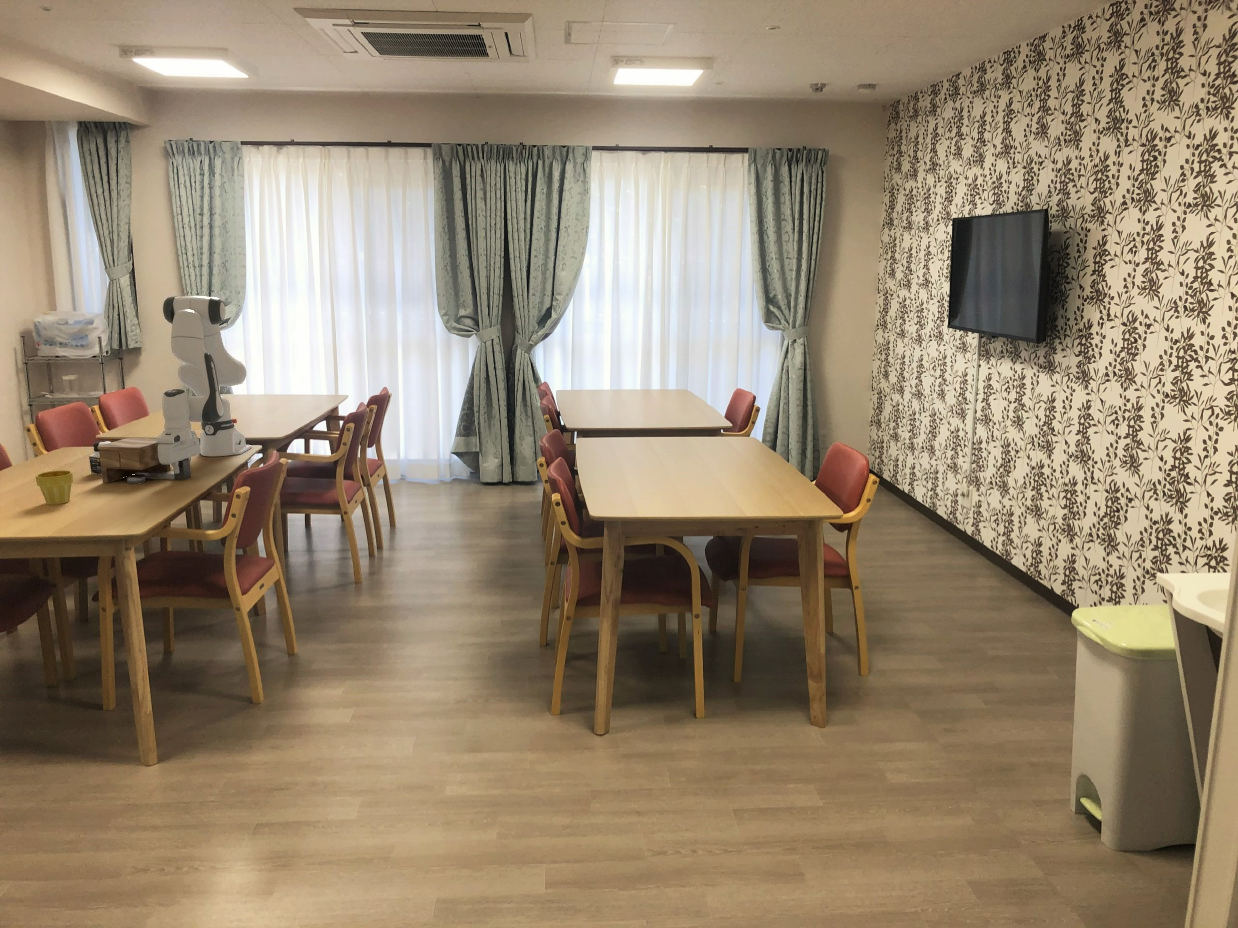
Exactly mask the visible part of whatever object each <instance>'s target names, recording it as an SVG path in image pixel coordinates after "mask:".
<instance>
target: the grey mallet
mask: <svg viewBox="0 0 1238 928" xmlns="http://www.w3.org/2000/svg"><path fill="white" fill-rule="evenodd" d="M178 462H179V464H178V466H179V468H181V473H178V474H176V473H174V471H172V470H171V471H145V470H142V471H139V472H136V473H135V474H144V475H145V479H148V478H150V480H151V479H152V480H153V479H154V480H173V481H174V480H177V481H178V480H180V481H185V480H188V479H191V478H192V475H191V474H192V472H191V462H190V460H189V459H184V460H181V461H178Z"/></svg>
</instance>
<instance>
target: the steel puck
mask: <svg viewBox="0 0 1238 928" xmlns="http://www.w3.org/2000/svg"><path fill="white" fill-rule="evenodd" d="M125 479H126V484H127V483H128V484H127V485H139V483H140V484H144V483H146V482H147V480H146V478H145V475H144V474H135V475H129V476H127V477H125Z"/></svg>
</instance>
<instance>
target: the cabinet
mask: <svg viewBox="0 0 1238 928" xmlns="http://www.w3.org/2000/svg"><path fill="white" fill-rule="evenodd" d="M110 442H111V441H110ZM159 444H160V443H157V441H156V438H149V437H148V438H145V437H144V438H143V437H142V438H141V437H139V438H138V437H126V438H123V439H119V440H116V441H115V440H114V441H112V442H111V443H108V444H104V445H100V446H97V448H98V449H99V455H100V463H101V472H102V475H101V479H102V484H110V483H112V481H113V482H116V481H118V479H119V480H122V479H124V478H123V477H125V478H126V476H129V475H132V474H135V473H136V472H139V471H142V470H145V471H172V469H171V464H169V465H166V464H161V463H160V462H159V457H158V445H159ZM121 478H122V479H121ZM115 480H116V481H115Z"/></svg>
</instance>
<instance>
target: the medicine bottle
mask: <svg viewBox="0 0 1238 928" xmlns="http://www.w3.org/2000/svg"><path fill="white" fill-rule="evenodd" d="M108 443H111V441H109V440H99V441H95V442H94V443H93V445H92V446H93V452H94V454H90V455H89V456H88V459H89V467H90V474H91V475H97V474H98V476H102V472H101V463H100V455H99V449H98V448H97V446H100V445H104V444H108Z"/></svg>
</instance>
